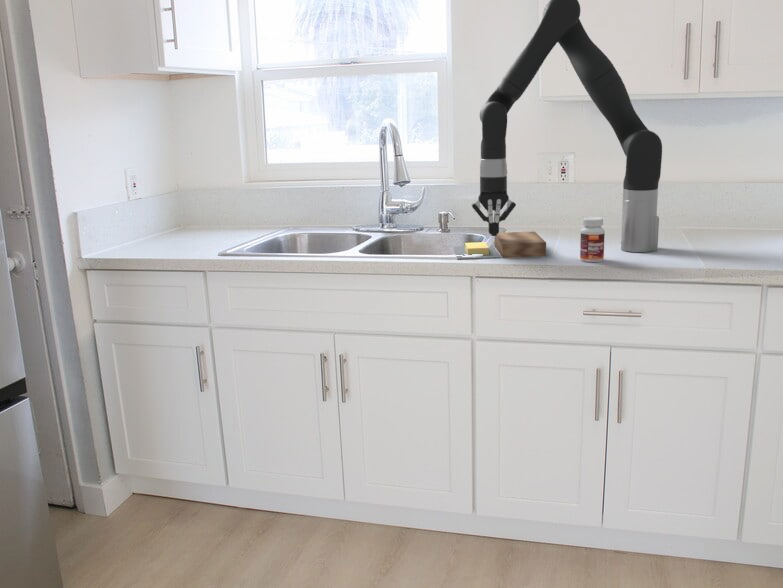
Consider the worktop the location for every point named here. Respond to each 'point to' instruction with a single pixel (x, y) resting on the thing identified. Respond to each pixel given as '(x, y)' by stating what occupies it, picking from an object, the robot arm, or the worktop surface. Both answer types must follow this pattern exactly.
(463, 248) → the mat
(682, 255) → the worktop surface
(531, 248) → the brown wooden block
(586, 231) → the pill bottle
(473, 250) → the yellow rectangular block
